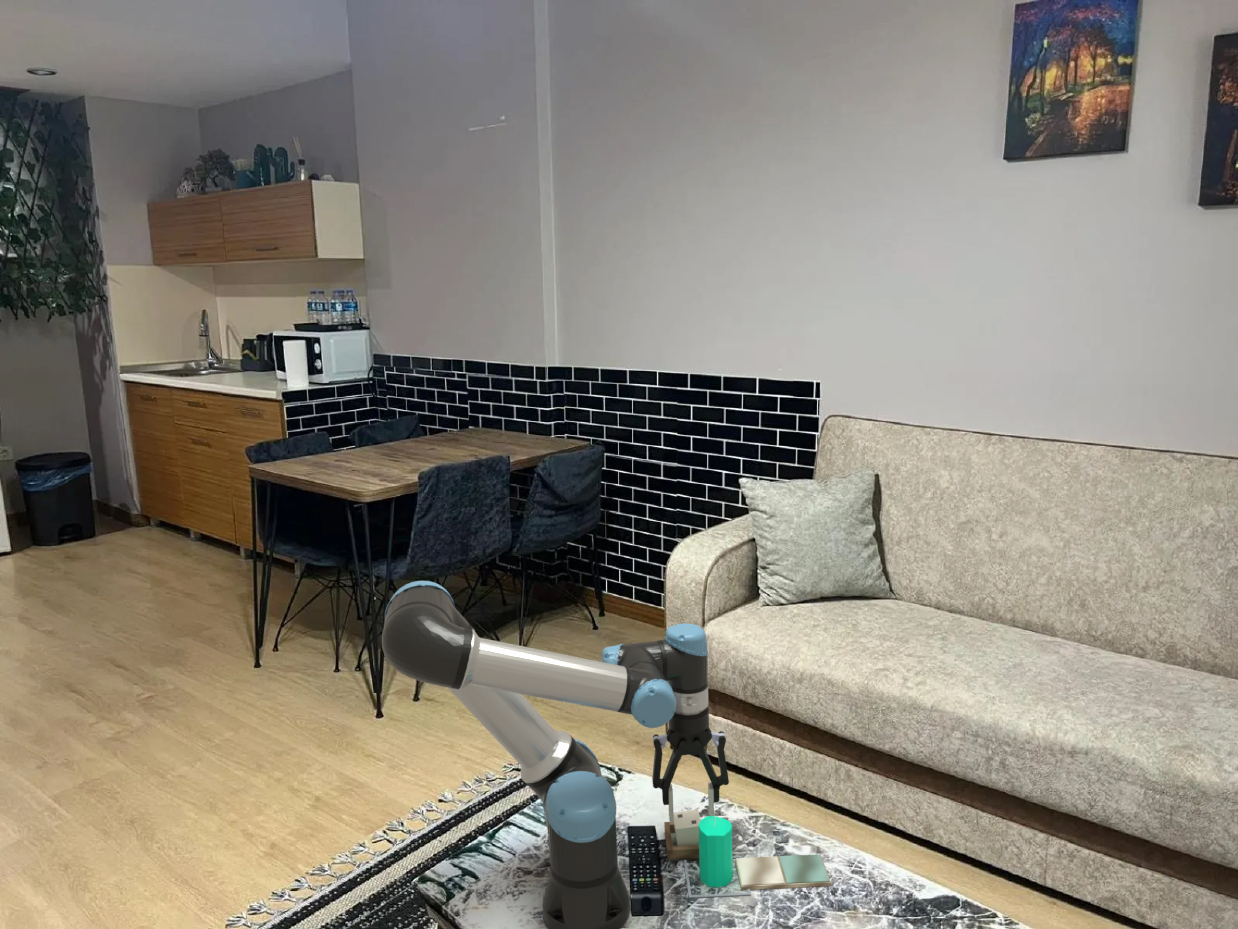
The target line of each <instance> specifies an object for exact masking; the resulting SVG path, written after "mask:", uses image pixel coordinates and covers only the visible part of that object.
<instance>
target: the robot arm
mask: <svg viewBox="0 0 1238 929" xmlns="http://www.w3.org/2000/svg"><path fill="white" fill-rule="evenodd" d="M455 606H456V605H455V602H454V599H453V598H452V596H451V594H450V593H449V591H447V589H446V588H445V587H443V586H442V585H441V584H438V583H437V582H433V581H429V580H417V581H416V580H415V581H412V582H410V583H406V584H404V585H403V586H401V587H399V589H397V591H396V592H395V593H393V595H392V597H391V598H390V600H389V602H388V603H387V605H386V608H385V611H384V624H383V629H382V634H381V648H382V651H383V654H384V657H385V658H386V660H387V662H388V663H389V664H390V666H391V667H392V668H394V670H396V671H397V672H399V673H400V674H402V675H403V676H405V677H407V678H409V679H410V678H411V679H413V680H416V681H419V682H422V683H425V684H429V685H434V686H438V687H441V688H442V687H443V688H447V689H448V690H449V691H450V692H451V693H452V694H453V696H454V697H456V698H457V700H458V701H459V702H460V703H462V705H463V706H464V707H465V708H466V709H467V710H468V711H469V712H470V713H471V714H472V715H473V716H474V718H475V719H476V720H477V721H479V724H481V725H482V726H483V727H484V728H485V729H486V730H487V731H488V732H489V733H490V734H491V736H493V738H494V739H495V740H496V741H497V742H498V743H499V744H500V745H501V746H502V747H503V749H505V750H506V751H507V753H509V754H510V756H511V757H512V758H513V759H514V760H515V761H516V762H517V763H518V764H519V766H521V767H520V768H521V769H520V778H521V780H522V781H523V782H524V784H526V785H527V786H528V787H529V788H530V789H531V790H532V792H534V794H535V795H536V796H538V798H539V799H540V801H541V802H542V806H543V813H544V818H545V824H546V829H547V836H548V838H547V839H548V848H549V849H548V851H549V864H550V866H549V867H550V874H549V878H548V880H547V884H546V888H545V892H544V894H543V899H542V915H543V916H542V917H543V920H544V923H545V925H546V927H547V928H548V929H621V928H622V927H623V926H624V925H625V924H626V922H627V920H628V919H629V916H630V911H631V905H630V904H631V902H630V901H631V900H630V898H631V897H630V893H629V889H628V887H627V885H626V882H625V881H624V878H623V876H622V874H621V870H620V869H619V859H618V858H619V857H618V838H617V836H618V835H617V821H616V820H617V817H616V816H617V801H616V796H615V793H614V790H613V788H612V786H611V784H610V782H609V781H608V780H607V779H606V778H604V777H603V775H602V770H601V769H602V768H601V765H600V763H599V760H598V758H597V756H596V755H595V753H594V752H593V751H592V749H591V748H590V747H589V746H588V745H587V744H586V743H585V742H583V741H581V740H579V739H576V738H574V737H573V736H572V735H571V734H570V732H568V731H566V730H557V731H556V730H555V729H554V728H553V726H552V725H550V723H549V722H548V721H547V720H546V719H545V718H544V716H542V715H541V714H540V712H538V710H537V709H536V708H535V707H534V706H533V704H531V703H530V701H528V699H527V698H526V697H525V696H529V697H535V698H539V699H546V700H551V701H557V702H561V703H567V704H572V705H576V706H577V705H579V706H583V707H590V708H594V709H598V710H599V709H600V710H606V711H612V712H617V713H621V714H625V715H630V716H631V715H632V717H633V718H634V720H635V721H637V723H638V724H639V725H641V726H643V727H646V728H649V729H655V728H660V727H662V726H664V725H666V724H668V729H667V731H666V734H663V735H659V734H658V733H656V734H653V735H652V741H653V748H654V757H653V768H652V778H651V779H652V788H654V789H660V790H661V797H662V798H661V799H662V804H663V805H664V806H668V818H669V822H670V823H674V814H673V813H674V791H673V783H672V781H673V780H674V779H673V778H674V777H675V776H674V775H675V773H676V771H677V768H678V766H679V762H680V761H681V759H682V757H683V756H688V755H693V756H694V755H695V756H696V755H697V756H698V757H699V758H700V761H701V762H702V765H703V766H704V769H705V771H706V774H707V775H708V778H709V780H710V781H708V782H707V797H708V799H707V800H708V804H707V805H708V816H715V804H717V803H719V802H720V789H721V786H727V785H729V784H730V781H729V780H730V779H729V773H728V767H727V766H728V765H727V761H726V754H725V748H726V747H725V746H726V742H727V738H726V735H725V734H726V733H725V732H724V731H722V730H720V731H719V732H714V731H712V730H711V728H710V715H709V714H710V710H709V709H710V708H709V682H708V681H709V680H708V678H709V676H708V673H709V671H708V667H709V666H708V662H709V660H708V659H709V657H708V655H709V651H708V641H707V634H706V633H707V632H706V631H705V630H704V629H703V627H701V626H699V625H697V624H694V623H686V622H685V623H677V624H675V625H671V626H669V627H668V628H667V629H666V630H665V636H664V639H659V640H652V641H651V640H650V641H643V642H642V641H641V642H633V643H619V644H617V645H611V646H607V647H606V646H605V647H604V648H603V650H602V651H601V656H600V661H598V660H594V659H593V660H592V659H587V658H583V657H579V656H578V657H577V656H573V655H569V654H568V655H567V654H565V653H564V654H563V653H557V652H553V651H547V650H543V649H539V648H538V649H537V648H533V647H528V646H523V645H517V644H512V643H509V642H508V643H507V642H503V641H499V640H493V639H492V640H491V639H489V638H488V639H487V638H482V637H480V636H479V635H478V634H477V632H476V631H475V628H473V626H472V625H471V624H470V623H469V622H468V621H467V619H466V618H465V617H464V616H463V615H462V614H461V613H460V612H459V611H458V610H457V609H456V607H455ZM711 740H712V741H713V744H714V746H716V752H717V753H716V754H717V758H718V764H719V773H720V775H717V773H716V771H715V769H714V766H713V764H712V762H711V760H710V757H709V755H708V753H707V751H706V747H707V745H708V744H709V743H710V741H711ZM667 742H668V743H669V745H671V747H672V752H671V756H670V758H669V761H668V763H667V766H666V769H665V770H664V774H663V776H662V778H661V772H662V771H661V769H662V760H663V749H664V748H665V747H666V743H667Z"/></svg>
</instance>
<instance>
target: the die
mask: <svg viewBox="0 0 1238 929" xmlns="http://www.w3.org/2000/svg"><path fill="white" fill-rule="evenodd" d="M673 814H674V827H675V834H676V841H677V846H698V845H699V823H700V821H701V820H702V819H701V816H700V811H699V809H698V808H697V809H691V810H690V809H689V810H683V811H675V812H673Z"/></svg>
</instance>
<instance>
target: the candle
mask: <svg viewBox="0 0 1238 929" xmlns="http://www.w3.org/2000/svg"><path fill="white" fill-rule="evenodd" d="M700 820H701V821H700V823H699V860H698V861H699V862H698V863H699V865H698V866H699V879H700V881H701V883H703V884H705V885H706V886H707V887H710V888H711V887H712V888H723V887H726V886H728V885H729V884H731V883H732V880H733V877H734V876H733V875H734V872H733V871H734V870H733V867H734V865H733V856H734V855H733V825H732V823H731V821H730V820H728V819H725V818H724V817H719V816H716V815H714V816H709V815H706V816H705V817H703V818H702V819H700Z"/></svg>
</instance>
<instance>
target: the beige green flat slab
mask: <svg viewBox="0 0 1238 929" xmlns="http://www.w3.org/2000/svg"><path fill="white" fill-rule="evenodd" d="M734 862H735V864H734V865H735V868H736V872H737V876H738V881H739V887H740V890H741V891H747V889H750V891H752V890H770V889H771V890H772V889H774V890H775V889H793V888H794V889H795V888H815V887H832V881H831V879H830V877H829V873H828V871H827V867H826V864H825V862H824V861H823V858H822V855H821V854H820V853H817V854H797V855H779V856H777V855H776V856H755V857H742V858H735V859H734Z"/></svg>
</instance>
